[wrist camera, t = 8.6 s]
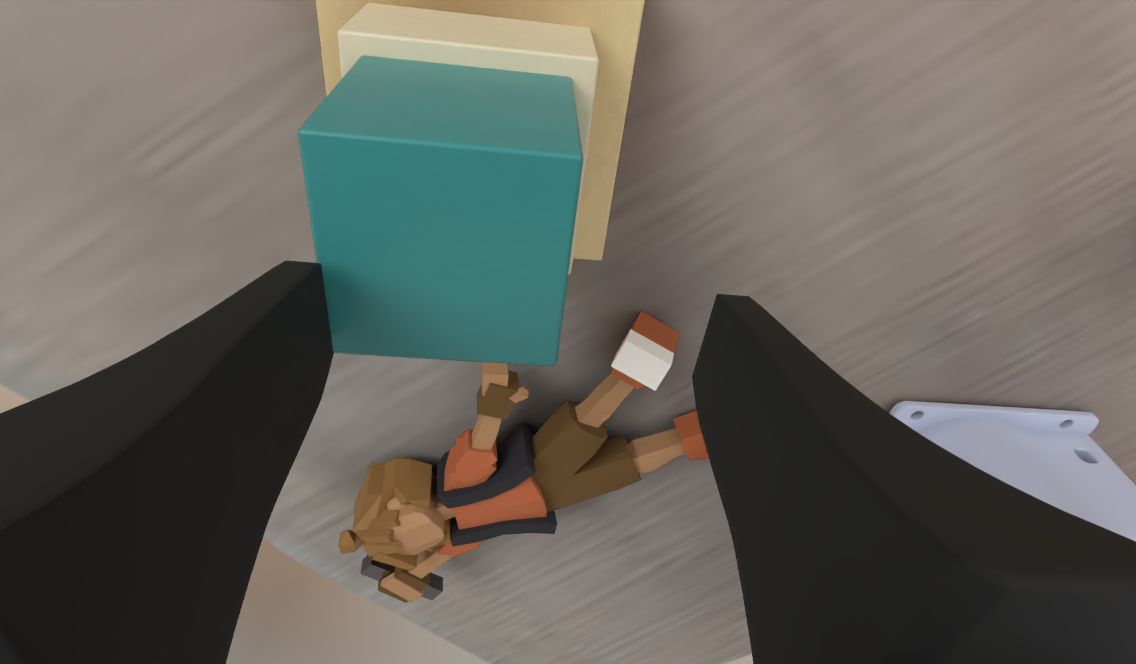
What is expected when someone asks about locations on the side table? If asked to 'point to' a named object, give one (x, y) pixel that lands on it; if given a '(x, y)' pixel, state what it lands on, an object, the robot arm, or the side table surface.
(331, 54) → the birch slab
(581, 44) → the cream block
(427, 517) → the low-poly toy doll
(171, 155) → the side table surface
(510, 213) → the toy cube
